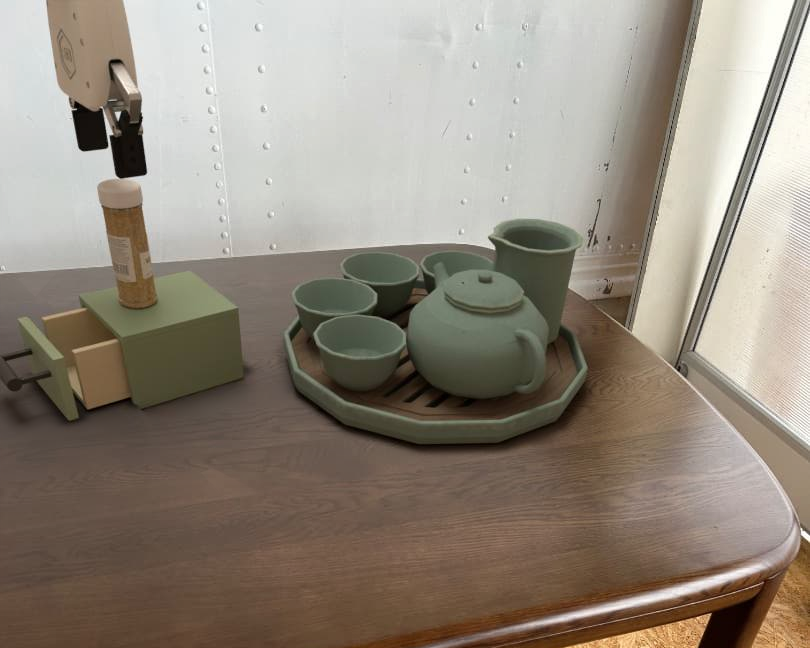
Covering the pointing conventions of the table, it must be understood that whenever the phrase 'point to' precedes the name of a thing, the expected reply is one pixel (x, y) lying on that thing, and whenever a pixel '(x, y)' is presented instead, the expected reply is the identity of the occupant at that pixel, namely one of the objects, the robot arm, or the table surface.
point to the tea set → (443, 339)
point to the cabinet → (173, 338)
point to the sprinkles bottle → (128, 241)
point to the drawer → (71, 361)
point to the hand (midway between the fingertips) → (112, 162)
